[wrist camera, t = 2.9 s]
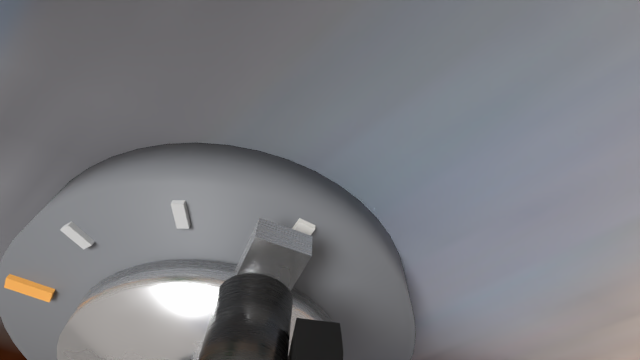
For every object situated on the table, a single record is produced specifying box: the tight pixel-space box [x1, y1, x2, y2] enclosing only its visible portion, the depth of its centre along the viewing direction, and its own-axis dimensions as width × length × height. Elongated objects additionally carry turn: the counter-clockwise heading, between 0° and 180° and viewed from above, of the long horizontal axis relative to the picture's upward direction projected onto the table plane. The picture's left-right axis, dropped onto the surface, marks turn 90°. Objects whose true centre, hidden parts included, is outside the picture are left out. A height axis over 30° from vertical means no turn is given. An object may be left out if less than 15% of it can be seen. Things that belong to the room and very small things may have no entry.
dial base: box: [0, 143, 416, 360], centre depth 18 cm, size 17×17×3 cm
